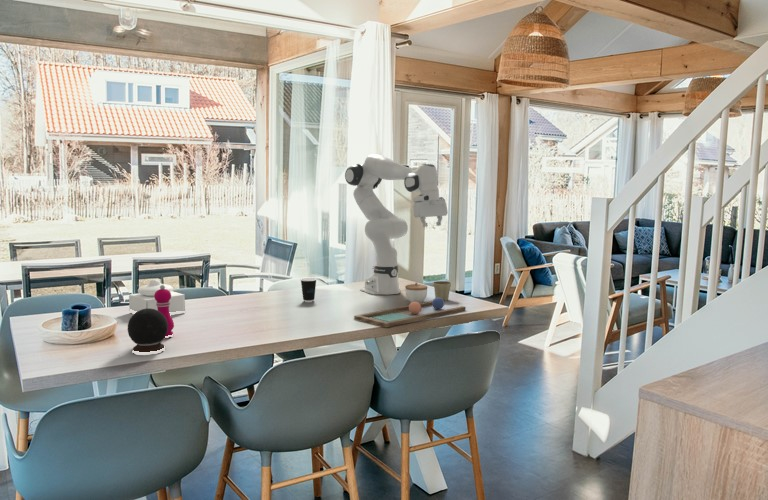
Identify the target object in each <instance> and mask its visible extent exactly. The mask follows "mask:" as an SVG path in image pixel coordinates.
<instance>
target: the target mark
mask: <svg viewBox="0 0 768 500" xmlns="http://www.w3.org/2000/svg"><path fill="white" fill-rule="evenodd" d="M408 317H413V316H412V315H407V314H402V313H399V312H396V313H391V314H386V315H380V316H375V317H371V318H372V319H376V320H380V321H384V322H389V321H394V320H398V319H403V318H408Z"/></svg>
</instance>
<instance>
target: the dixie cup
mask: <svg viewBox="0 0 768 500" xmlns="http://www.w3.org/2000/svg"><path fill="white" fill-rule="evenodd" d="M317 280H318V279H317V278H315V277H304V278H300V284H301V293H302V300H303V302H304V301H305V302H304V303H313V302H312V301H315V296H316V286H317V285H316V284H317Z"/></svg>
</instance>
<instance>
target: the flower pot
mask: <svg viewBox="0 0 768 500" xmlns="http://www.w3.org/2000/svg"><path fill="white" fill-rule="evenodd" d="M432 284H433V287H434V289H433V290H434V297H435V298H437V297H439V298H442V299H443V301H444V302H445V301H449V297H450V289H451V287H452V285H453V282H452V281H445V280H444V281H443V280H438V281H437V280H436V281H432ZM435 298H434V299H435Z"/></svg>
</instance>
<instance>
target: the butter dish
mask: <svg viewBox="0 0 768 500" xmlns="http://www.w3.org/2000/svg"><path fill="white" fill-rule="evenodd" d="M161 285H164V286H165V289H167V290H169V291H170V293H171V299H170V300H169V301H170V306H169V312H176V311H185V312H186V300H185V299H186V297H185V293H180V292H176V291H174V287H173V286H172V285H170V284H166V283H161V281H160V280H159V279H157V278H153V279H151V280H150V281H149V283H148V284H146V285H145V284H144V285H141V286H140V287H139V288H138V289H137V293H130V294H129V295H128V304H129V310H130V309H132V310H134V311H137V312H138V311H140V310H142V309H147V308H148V309H155V310H157V311H158V308H157V306H156V302H157V301H156V300H155V298H154V295H155V292H156V291H157V290H160V286H161Z"/></svg>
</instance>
